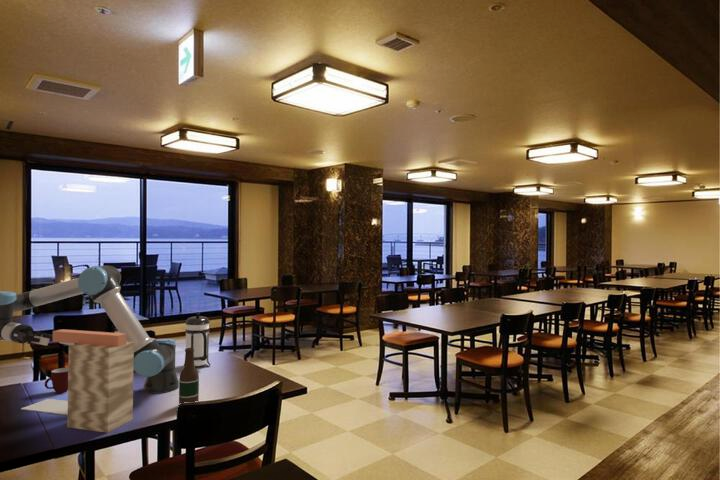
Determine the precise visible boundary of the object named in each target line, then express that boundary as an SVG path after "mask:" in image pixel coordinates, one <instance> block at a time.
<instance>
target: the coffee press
mask: <svg viewBox="0 0 720 480" xmlns="http://www.w3.org/2000/svg"><path fill="white" fill-rule="evenodd" d="M210 323H211V322H210V320H209V318H208V317H207V316H202V315H201V313H200V312H195V316H191V317H188V318H187V319H186V321H185V349H186V348H194V366H195V367H200V366H206V367H207V368H209V367H211V364H210V362H209V352H210V351H209V350H210V348H209V346H210V345H209V342H210V339H209V338H210ZM184 365H185V362H184V363H183V366H184Z"/></svg>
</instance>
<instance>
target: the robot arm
mask: <svg viewBox="0 0 720 480" xmlns="http://www.w3.org/2000/svg"><path fill="white" fill-rule="evenodd" d="M121 280H122V275H121V272H120V270H119V269H118V268H116V267H114V266H113V265H105V264H104V265H96V266H95V265H94V266H90V267H88V268H85V269H84V270H83V271H81V273H80V274H79V276H78V277H76V278H73V279H70V280H69V279H68V280H66V281H62V282H58V283H54V284H51V285H47V286H44V287H40V288H37V289H33V290H30V291H25V292H22V293H16V292H14V291H7V290H6V291H5V290H4V291H0V340H4V341H7V343H12V342H14V343H17V344H27V345H31V344H37V345H42V346H48V345H49V343H50V342H53V334H50V333H46V332H39V331H35V330H34V328H33V327H32V326H31V325H27V324H23V323H19V322H13V317H14V313H17V312H21V311H25V310H26V311H27V310H30V309H32V308H36V307H39V306H43V305H47V304H49V303H50V304H51V303H53V302H57V301H60V300H61V301H62V300H64V299H67V298H71V297H75V296H80V295H83V294H86V295H89V296H90V298H91V299H92V301H93V302H94V303H99V304H100V306H101V308H102V309H103V310H104V312H105V313H106V314H107V316H108V318H109V319H110V321H111V322H112V323H113V325H114V327H115V328H116V329H117V331H118V333H124V334H126V341H127V342H134V367H133V371H135V373H136V374H138V376H141V377H146V378H145V381H144V384H143V392H145V393H148V394H149V393H150V394H162V393H166V392H168V393H169V392H171V391H175V390H177V389H179V378H178V375H177V372H176V348H177V345H176V340H175V338H154V337H150V336H149V335H148V333H147V331H146V330H145V328H144V327H143V325H142V324H141V322H140V321H139V319H138V318H137V317H136V315H135V313H134V312H133V310H132V309H131V307H130V306H129V304H128V302H127V301H126V300H125V298H124V297H123V295H122V294H121V293H120V291H121V285H120V283H121ZM53 343H54V342H53ZM58 343H59V344H62V345H66V346H70V345H74V344H75V343H65V342H58Z"/></svg>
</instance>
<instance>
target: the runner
mask: <svg viewBox="0 0 720 480" xmlns="http://www.w3.org/2000/svg"><path fill="white" fill-rule="evenodd" d="M20 410H21V411H30V412H37V413H44V414H45V413H47V414H51V415H52V414H53V415H62V416H68V400H65V399H53V398H46V399H43V400H41V401H38V402H36V403H32V404H30V405H27V406H25V407H21V408H20Z"/></svg>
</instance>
